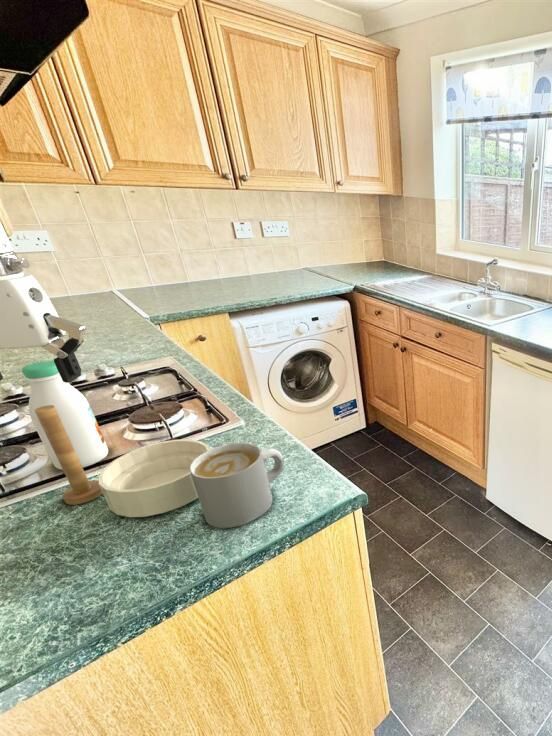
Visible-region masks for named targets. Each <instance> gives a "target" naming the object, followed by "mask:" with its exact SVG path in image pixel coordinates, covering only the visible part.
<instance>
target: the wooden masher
mask: <svg viewBox="0 0 552 736" xmlns="http://www.w3.org/2000/svg"><path fill="white" fill-rule="evenodd" d="M35 413H36V415H37V417H38V419H39V421H40V424H41V426H42V428H43V430H44V432H45V434H46V436H47V438H48V440H49V442H50V444H51V446H52V448H53V450H54V452H55V455H56V457H57V459H58V461H59V463H60V465H61V467H62V469H63V470H62V471H63V473H64V475H65V477H66V480H67V481H68V483H69V485H70V487H69V488H67V489H66V490H65V491H64V492H63V493H62V499H63V500H64V502H65V504H67V505H71V506H74V505H80V504H81V505H82V504H85V503H88V502H90V501H93V500H95V499H97V498H99V497H100V496H101V495H103V493H102V491H101V488H100V486H99V483H98V480H89V479H88V476H87V474H86V472H85V469H84V467H82V465H81V463H80V461H79V459H78V457H77V454H76V452H75V450H74V448H73V446H72V443H71V441H70V439H69V437H68V435H67V433H66V430H65V428H64V426H63V424H62V422H61V419H60V417H59V415H58V413H57V411H56V409H55V406H53V405H48V406H42V407H39V408H37V409H35Z"/></svg>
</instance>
